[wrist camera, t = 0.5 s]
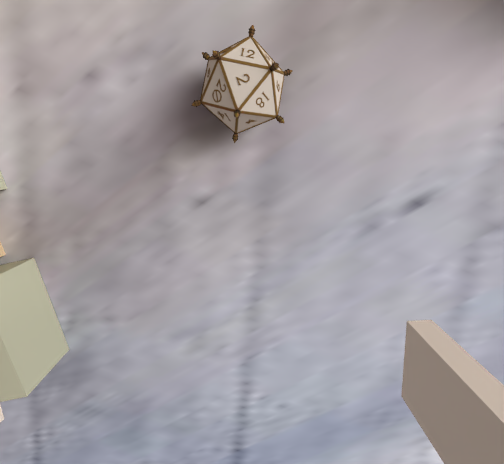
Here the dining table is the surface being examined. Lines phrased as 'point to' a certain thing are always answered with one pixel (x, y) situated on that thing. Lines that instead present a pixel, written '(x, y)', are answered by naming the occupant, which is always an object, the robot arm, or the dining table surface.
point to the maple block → (1, 251)
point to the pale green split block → (26, 328)
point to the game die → (242, 85)
